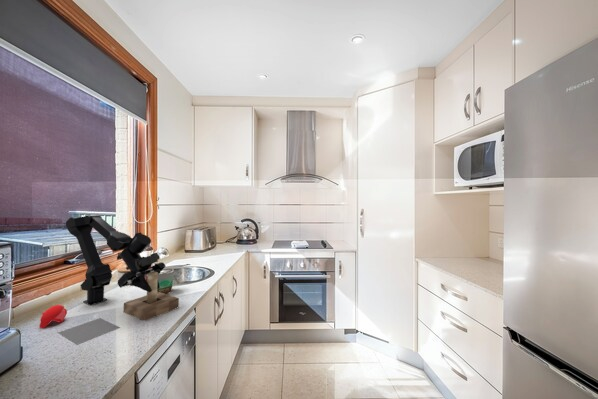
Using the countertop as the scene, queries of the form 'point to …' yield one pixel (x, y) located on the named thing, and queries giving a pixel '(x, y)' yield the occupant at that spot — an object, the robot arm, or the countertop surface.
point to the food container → (165, 281)
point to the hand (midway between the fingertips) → (154, 289)
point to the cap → (53, 315)
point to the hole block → (151, 306)
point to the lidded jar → (122, 271)
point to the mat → (88, 331)
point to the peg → (152, 287)
